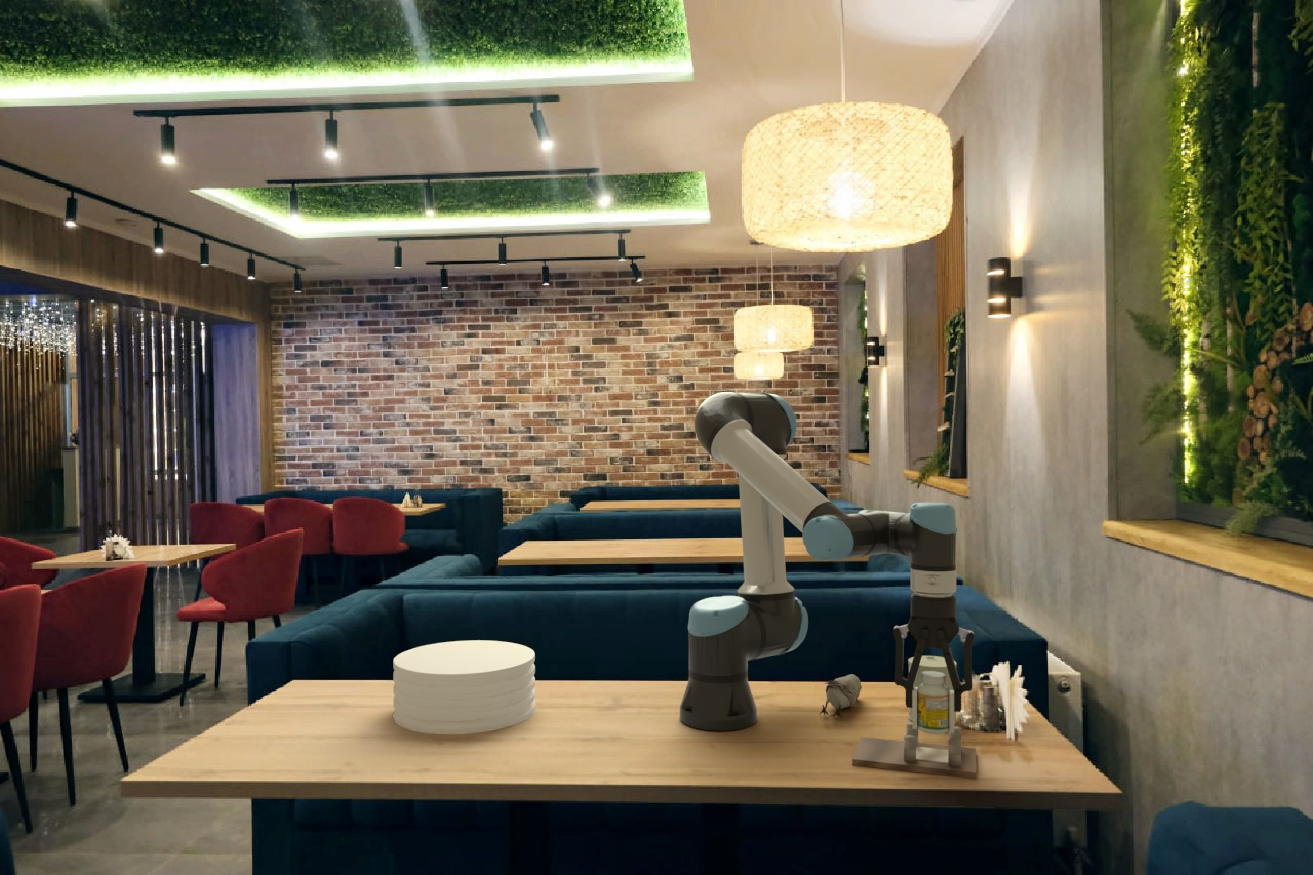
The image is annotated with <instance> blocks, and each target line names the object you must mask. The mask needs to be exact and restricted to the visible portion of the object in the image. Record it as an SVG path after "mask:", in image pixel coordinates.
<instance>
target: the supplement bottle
mask: <svg viewBox="0 0 1313 875" xmlns="http://www.w3.org/2000/svg"><path fill="white" fill-rule="evenodd" d="M921 680H922V682H923V684H920V685H919V686H918V688H917V726H918V731H921V732H924V733H927V734H933V735H942V734H946V733H949V729H950V725H949V693H950V691H949V689H948V687H947V686H945V685H944V684H945V682H946V679H945V674H944V673H941V672H936V671H924V672H922V673H921Z"/></svg>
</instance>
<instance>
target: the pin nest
mask: <svg viewBox="0 0 1313 875" xmlns="http://www.w3.org/2000/svg"><path fill="white" fill-rule="evenodd" d="M948 733H949V734H948V742H947V743H948V745H947V744H946V745H945V744H944V745H943V744H934V743H924V742H919V728H918V726H917V729H912V721H910V722H907V723H906V735H904V736H903V740H894V739H885V738H876V737H875V738H874V737H864V736H859V738H858V741H857V744H856V746H855V750H854V752H853V756H852V758H851V765H852V766H860V767H868V768H877V769H886V770H887V769H888V770H895V771H896V770H897V771H905V772H912V773H913V772H914V773H922V774H932V775H940V776H942V775H943V776H950V777H959V778H968V779H969V778H970V779H976V780H977V749H976V748H975V747H966V746H965V747H963V746H962V727H960V726H957V725H956V726H955V725H954V733H953V732H950V729H949V731H948Z"/></svg>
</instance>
